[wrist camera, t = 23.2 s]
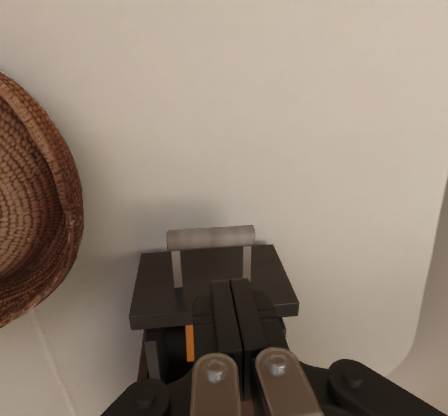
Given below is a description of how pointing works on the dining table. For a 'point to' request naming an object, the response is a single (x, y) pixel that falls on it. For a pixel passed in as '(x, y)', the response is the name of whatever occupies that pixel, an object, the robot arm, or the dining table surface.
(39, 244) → the basket
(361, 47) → the dining table surface
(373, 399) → the robot arm
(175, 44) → the dining table surface
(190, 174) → the dining table surface
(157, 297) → the drawer
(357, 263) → the dining table surface
